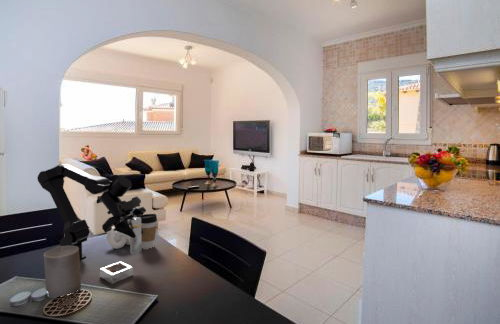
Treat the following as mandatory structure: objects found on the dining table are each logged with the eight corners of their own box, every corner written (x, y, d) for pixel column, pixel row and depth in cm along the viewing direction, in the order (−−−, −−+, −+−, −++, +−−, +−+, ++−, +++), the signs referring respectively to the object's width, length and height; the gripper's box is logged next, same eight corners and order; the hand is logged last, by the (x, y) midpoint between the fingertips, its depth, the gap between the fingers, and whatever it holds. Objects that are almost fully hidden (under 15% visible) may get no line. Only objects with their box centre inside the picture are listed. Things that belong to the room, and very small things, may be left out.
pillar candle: (74, 280, 102) (72, 239, 101) (85, 290, 96) (83, 246, 95) (41, 292, 95) (38, 247, 93) (51, 303, 89) (49, 255, 87)
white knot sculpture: (111, 253, 127) (111, 233, 126) (103, 245, 136) (102, 226, 135) (137, 246, 134) (137, 228, 134) (127, 239, 143) (127, 222, 143)
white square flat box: (100, 276, 105) (99, 268, 105) (120, 269, 112) (120, 261, 112) (112, 283, 101) (112, 275, 101) (133, 275, 107) (132, 266, 107)
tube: (127, 252, 111) (127, 218, 110) (137, 248, 115) (137, 216, 113) (134, 254, 109) (133, 220, 108) (143, 251, 112) (143, 218, 111)
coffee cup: (153, 250, 130) (153, 218, 129) (134, 250, 130) (134, 217, 129) (159, 243, 139) (159, 213, 137) (142, 243, 139) (141, 212, 138)
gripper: (108, 195, 102) (135, 230, 100) (142, 187, 120) (165, 216, 118) (90, 215, 105) (116, 249, 103) (126, 204, 123) (148, 232, 121)
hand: (138, 235), depth 111 cm, fingers closed on tube, 4 cm apart
